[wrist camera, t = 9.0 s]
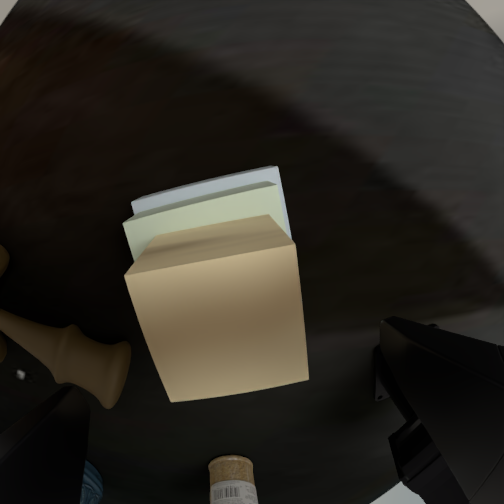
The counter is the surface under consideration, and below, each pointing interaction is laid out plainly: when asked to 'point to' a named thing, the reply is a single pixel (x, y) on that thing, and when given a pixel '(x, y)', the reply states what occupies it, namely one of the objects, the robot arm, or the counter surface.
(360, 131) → the counter surface
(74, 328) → the kendama
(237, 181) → the base block
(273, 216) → the sage block
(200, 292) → the maple cube
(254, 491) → the sprinkles bottle
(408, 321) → the robot arm
